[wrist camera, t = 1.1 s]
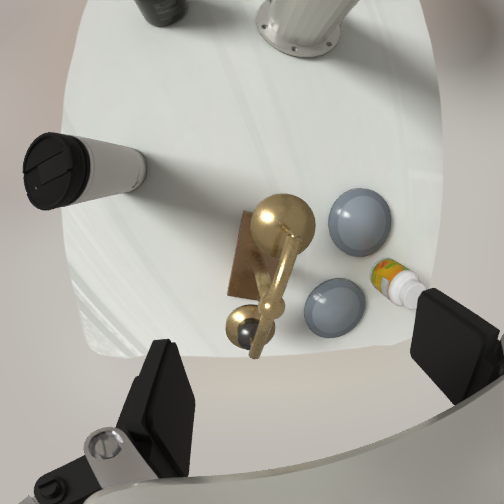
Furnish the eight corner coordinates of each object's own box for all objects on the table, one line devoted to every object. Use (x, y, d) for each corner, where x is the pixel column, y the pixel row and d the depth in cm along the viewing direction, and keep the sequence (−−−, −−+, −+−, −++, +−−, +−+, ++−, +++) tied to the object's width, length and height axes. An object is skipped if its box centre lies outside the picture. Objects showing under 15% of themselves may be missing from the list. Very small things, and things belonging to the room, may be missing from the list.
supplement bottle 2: (397, 255, 41) (432, 275, 32) (395, 285, 43) (427, 310, 34) (369, 259, 41) (402, 281, 32) (368, 290, 43) (397, 318, 33)
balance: (249, 183, 37) (265, 190, 20) (292, 192, 38) (342, 208, 20) (223, 314, 42) (221, 398, 24) (261, 320, 42) (280, 403, 25)
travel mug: (154, 184, 36) (82, 196, 17) (112, 197, 36) (23, 222, 17) (144, 141, 34) (67, 115, 15) (103, 156, 34) (10, 150, 15)
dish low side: (313, 273, 41) (316, 276, 40) (369, 282, 42) (373, 285, 41) (296, 331, 43) (298, 335, 42) (350, 336, 45) (353, 340, 44)
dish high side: (337, 180, 38) (340, 180, 36) (393, 198, 39) (397, 198, 38) (320, 247, 40) (323, 250, 39) (377, 259, 41) (381, 261, 40)
